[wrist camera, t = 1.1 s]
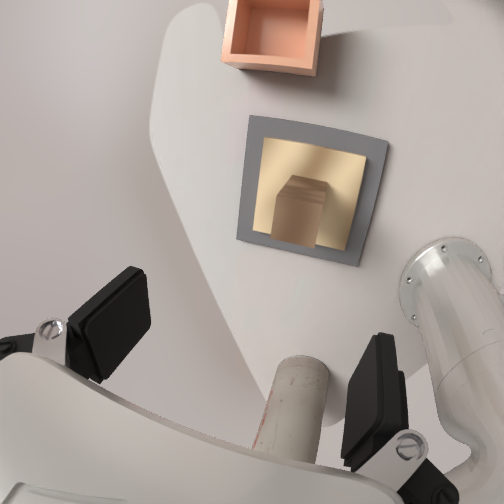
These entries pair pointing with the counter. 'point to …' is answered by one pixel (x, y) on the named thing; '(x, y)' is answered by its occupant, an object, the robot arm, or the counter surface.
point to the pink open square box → (273, 35)
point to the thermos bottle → (294, 410)
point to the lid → (307, 193)
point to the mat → (321, 137)
